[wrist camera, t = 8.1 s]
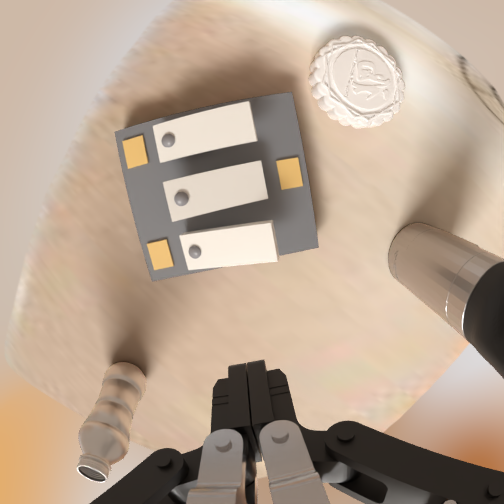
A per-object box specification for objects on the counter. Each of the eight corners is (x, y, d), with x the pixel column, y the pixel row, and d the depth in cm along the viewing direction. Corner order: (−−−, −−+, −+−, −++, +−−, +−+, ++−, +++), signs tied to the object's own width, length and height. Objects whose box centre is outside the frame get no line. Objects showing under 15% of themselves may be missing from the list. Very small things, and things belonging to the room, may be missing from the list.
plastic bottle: (102, 358, 42) (53, 455, 23) (140, 353, 42) (101, 459, 23) (119, 389, 44) (83, 486, 25) (155, 386, 44) (129, 490, 25)
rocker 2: (272, 219, 31) (270, 223, 30) (279, 257, 33) (277, 262, 31) (183, 232, 34) (178, 236, 33) (192, 266, 35) (187, 270, 34)
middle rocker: (257, 160, 32) (261, 160, 31) (264, 197, 33) (268, 198, 32) (162, 182, 30) (162, 182, 29) (171, 220, 31) (172, 222, 30)
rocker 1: (250, 102, 28) (248, 100, 27) (257, 140, 30) (256, 140, 28) (157, 126, 30) (151, 125, 29) (164, 162, 31) (159, 163, 30)
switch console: (287, 97, 34) (294, 89, 29) (312, 240, 39) (322, 251, 35) (123, 133, 34) (109, 130, 29) (157, 272, 39) (149, 286, 35)
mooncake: (383, 142, 36) (396, 141, 33) (296, 109, 34) (303, 104, 31) (401, 65, 33) (414, 59, 30) (320, 29, 31) (328, 18, 28)
